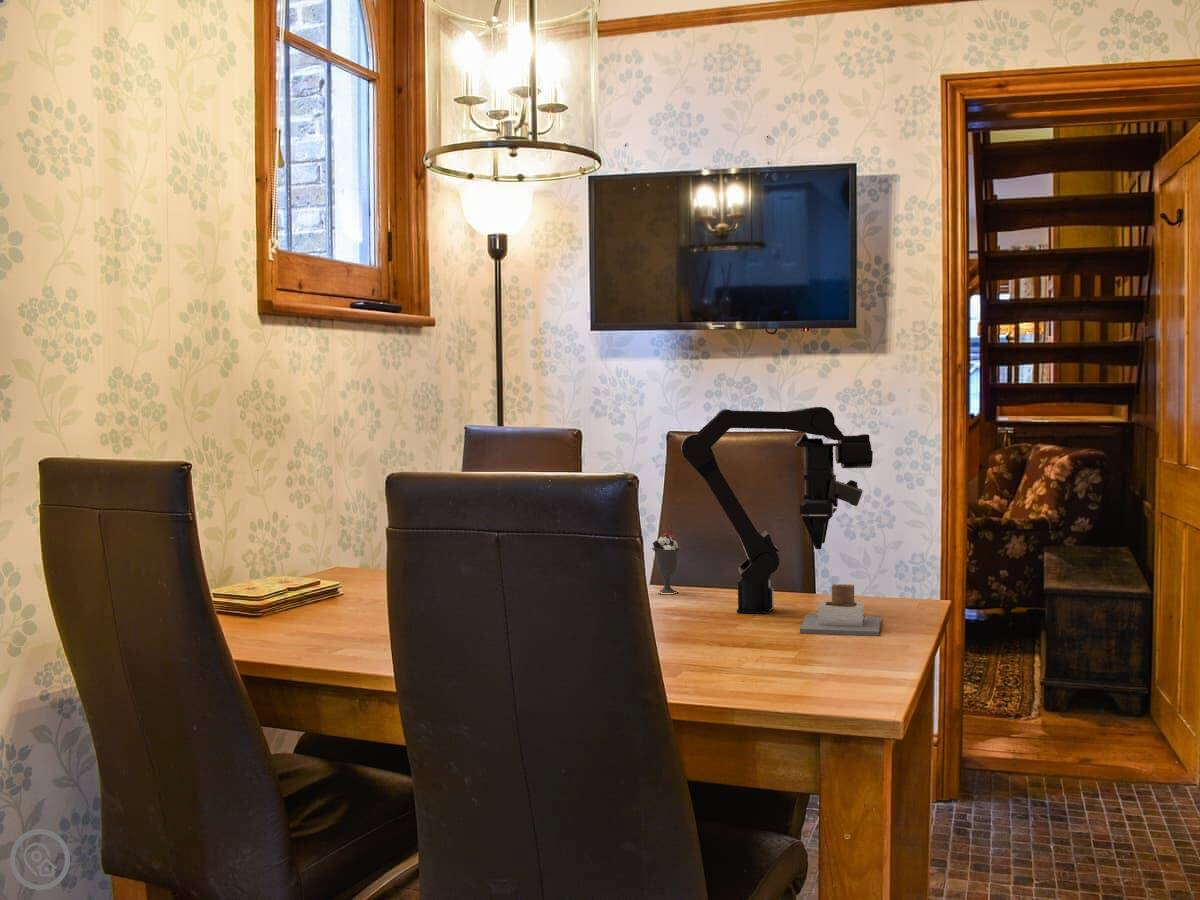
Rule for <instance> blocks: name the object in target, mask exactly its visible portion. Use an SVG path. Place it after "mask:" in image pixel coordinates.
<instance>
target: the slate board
mask: <svg viewBox="0 0 1200 900" xmlns="http://www.w3.org/2000/svg"><path fill="white" fill-rule="evenodd" d="M881 619H882V617H881V616H873V615H864V621H863V626H833V625H818V614H813V613H812V614H808V613H807V614H806V615H805V616H804V620H803V621H802V623H801V625H800V628H799V634H814V635H815V634H816V635H842V636H843V635H844V636H868V637H869V636H870V637H872V636H873V637H880V629H881Z"/></svg>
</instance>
